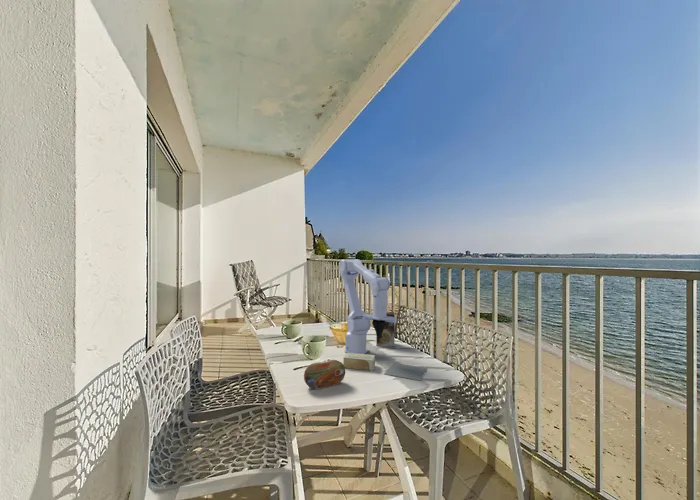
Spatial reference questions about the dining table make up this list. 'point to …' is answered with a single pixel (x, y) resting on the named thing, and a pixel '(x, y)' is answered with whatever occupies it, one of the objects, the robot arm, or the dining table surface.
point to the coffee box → (387, 333)
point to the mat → (406, 371)
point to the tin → (324, 374)
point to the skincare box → (359, 361)
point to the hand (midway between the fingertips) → (379, 337)
